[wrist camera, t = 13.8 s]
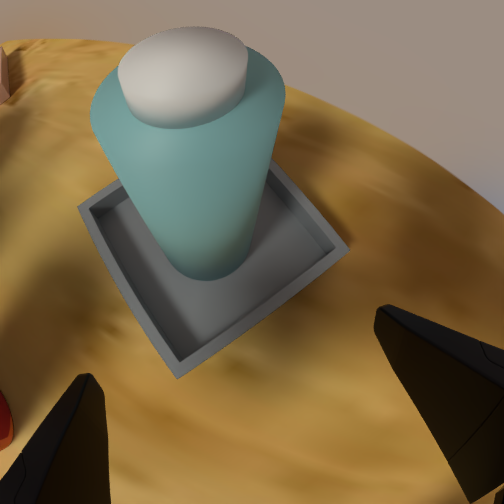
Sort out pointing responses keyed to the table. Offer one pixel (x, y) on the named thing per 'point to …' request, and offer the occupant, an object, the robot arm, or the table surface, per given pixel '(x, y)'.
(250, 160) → the pepper mill
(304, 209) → the tray
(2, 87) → the pastry plate
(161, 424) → the table surface
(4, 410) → the paper cup
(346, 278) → the table surface
